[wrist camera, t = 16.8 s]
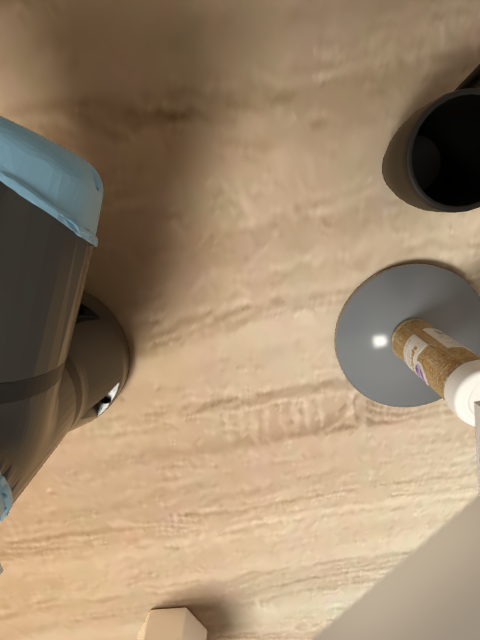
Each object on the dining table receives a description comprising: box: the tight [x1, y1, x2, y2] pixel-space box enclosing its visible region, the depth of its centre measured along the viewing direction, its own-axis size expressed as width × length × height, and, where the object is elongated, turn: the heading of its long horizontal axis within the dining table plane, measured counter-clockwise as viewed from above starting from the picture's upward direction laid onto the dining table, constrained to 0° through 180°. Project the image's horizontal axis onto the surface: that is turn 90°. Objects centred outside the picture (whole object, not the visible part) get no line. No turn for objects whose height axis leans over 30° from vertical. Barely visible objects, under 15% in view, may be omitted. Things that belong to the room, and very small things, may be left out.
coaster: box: [334, 263, 480, 407], centre depth 42 cm, size 15×15×1 cm
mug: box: [382, 64, 480, 212], centre depth 33 cm, size 8×12×10 cm
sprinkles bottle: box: [391, 319, 480, 426], centre depth 35 cm, size 5×5×13 cm
